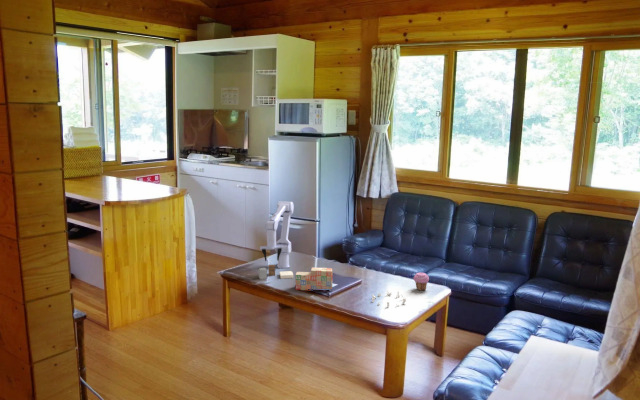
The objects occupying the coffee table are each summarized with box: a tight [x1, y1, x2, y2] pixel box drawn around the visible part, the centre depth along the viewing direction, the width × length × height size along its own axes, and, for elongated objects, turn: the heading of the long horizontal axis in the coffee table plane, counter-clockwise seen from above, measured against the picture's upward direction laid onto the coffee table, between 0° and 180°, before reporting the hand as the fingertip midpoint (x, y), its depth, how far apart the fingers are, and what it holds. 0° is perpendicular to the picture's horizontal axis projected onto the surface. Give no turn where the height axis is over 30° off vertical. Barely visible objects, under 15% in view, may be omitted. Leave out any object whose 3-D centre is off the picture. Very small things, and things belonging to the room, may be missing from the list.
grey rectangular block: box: [258, 267, 268, 280], centre depth 331 cm, size 4×4×6 cm
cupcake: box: [413, 272, 430, 291], centre depth 310 cm, size 9×9×10 cm
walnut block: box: [267, 264, 276, 277], centre depth 337 cm, size 4×4×6 cm
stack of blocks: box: [295, 267, 334, 291], centre depth 310 cm, size 21×6×12 cm, turn 83°
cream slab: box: [279, 270, 295, 280], centre depth 334 cm, size 8×8×2 cm
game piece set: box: [371, 290, 407, 308], centre depth 291 cm, size 19×20×4 cm
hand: (271, 260), depth 336 cm, fingers open, 7 cm apart
